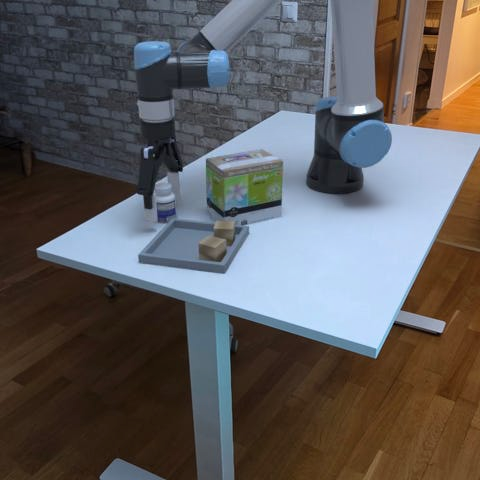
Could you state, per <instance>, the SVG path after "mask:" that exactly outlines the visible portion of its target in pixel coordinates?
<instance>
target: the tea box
mask: <svg viewBox="0 0 480 480" xmlns="http://www.w3.org/2000/svg"><path fill="white" fill-rule="evenodd" d="M283 172H284V160H282V159H281V158H280V157H277V156H275V155H273V154H271V152H269V151H266V150H264V149H262V148H261V149H255V150H249V151H244V152H242V151H241V152H237V153H233V154H232V153H230V154H225V155H220V156H212V157H207V158H205V184H206V185H205V188H206V192H205V193H206V196H205V197H206V216H207V217H209V218H210V219H211V220H213V221H212V222H214V223H216V220H217V221H235V225H242V226H250V225H253V224H258V223H261V222H265V221H269V220H274V219H280V218H281V217H282V206H283V205H282V204H283V177H284V176H283V175H284V173H283Z"/></svg>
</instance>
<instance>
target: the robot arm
mask: <svg viewBox="0 0 480 480" xmlns="http://www.w3.org/2000/svg"><path fill="white" fill-rule="evenodd" d="M283 1H284V0H231V1H230V2H229V3H227V5H226V6H224V7H223V8H222V9H221V10H220V11H219V12H218V13H217V14H216V15H215V16H214V17H213V18H212V19H211V20H210V21H209V22H208V23H206V25H204V26H203V27H202V28H201V29H200V30H199V31H198V32H197V33H196V34H195V35H194V36H193V37H192V38H191V39H190V40H187V41H184V42H183V43H182V44H180V46H179V47H178V49H177V51H172V47H171V45H170V43H168V42H166V41H156V40H153V41H152V40H151V41H149V40H148V41H142V42H139V43H137V44H136V45H135V46H134V49H133V55H134V58H133V59H134V61H133V62H134V63H133V64H134V74H135V85H136V86H135V87H136V92H137V93H136V94H137V95H136V96H137V102H136V105H137V106H138V115H139V116H138V117H139V118H140V120H139V131H140V137H141V138H143V139H145V140H146V141H147V144H146V147H140V162H139V170H138V171H139V172H138V181H137V188H136V189H137V190H136V194H137V195H139V196H142V200H143V201H142V202H143V212H144V221H146V222H153V223H157V221H158V216H157V203H156V193H155V191H154V189H155V185H156V184H157V179H158V174H159V168H160V167H162V165H163V163H164V164H165V166H166V168H167V170H168V171H167V172H166V176H167V179H166V180H167V183H169V184H171V185H172V193H174V195H175V200H180V199H181V186H180V173H183V172H184V171H183V170H184V167H183V160H182V156H181V153H180V150H179V146H178V144H177V137H176V121H175V118H174V117H175V101H174V90H187V89H188V90H189V89H191V90H193V89H212V90H213V89H218V88H224V87H227V86H228V84H229V82H230V76H231V75H230V72H231V70H230V59H229V55H228V52H229V51H230V50H231V49H232V48H233V47H234V46H236V44H237V43H238V42H240V41H241V40H242V39H243V38H244V37H245V36H246V35H247V34H248V33H250V32H251V31H252V30H253V29H254V27H257V25H258V24H259V23H260V22H261V21H262V20H264V19H265V17H267V16H268V15H269V14H270V13H271V12H272V11H273V10H274V9H276V7H277V6H279V5H280V4H281V3H282V2H283ZM329 1H330V12H331V13H330V14H331V28H332V29H331V31H332V41H333V57H334V58H333V59H334V70H335V74H334V75H335V86H336V88H335V89H336V96H324V97H321V98H319V99H318V100H317V101H316V104H315V111H314V115H315V117H314V142H313V143H314V144H313V145H314V146H313V157H312V159H311V162H310V164H309V167H308V169H307V172H306V176H305V177H306V181H305V182H306V185H307V187H308V188H310V189H312V190H314V191H316V192H321V193H325V194H326V193H327V194H349V193H353V192H357V191H359V190H360V189H362V188H363V186H364V181H365V180H364V179H365V177H364V171H363V169H366V168H369V167H373V166H374V165H377V164H378V163H380V162H381V161H382V160H383V159H384V158H385V156H387V154H389V151H390V149H391V147H392V143H393V136H392V135H393V134H392V132H391V130H390V127H389V126H388V124H386V123H385V122H384V118H385V117H384V103H383V102H382V101H381V100H380V99H379V98H378V97H377V95H376V94H377V91H376V89H377V88H376V87H377V86H376V69H375V68H376V64H375V62H376V61H375V60H376V59H375V41H374V40H375V39H374V37H375V36H374V11H373V10H374V9H373V0H329ZM362 168H363V169H362ZM179 172H180V173H179Z"/></svg>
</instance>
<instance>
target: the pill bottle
mask: <svg viewBox="0 0 480 480" xmlns="http://www.w3.org/2000/svg"><path fill="white" fill-rule="evenodd" d="M154 193H156V203H157V216H158V221H157V222H156V223H157V224H162V225H163V224H165V225H166V224H167V223H168V222H169V221H170V220H171V219H172V218H176V219H178V216H177V215H178V214H177V206H176V205H177V204H176V202H177V201H176V200H177V199H175V195H174V193H172V185H171V184H169V183H168V182H158V183H156V184H155V189H154Z"/></svg>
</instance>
